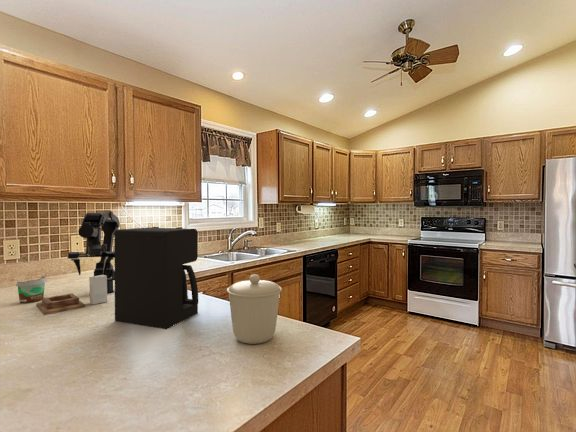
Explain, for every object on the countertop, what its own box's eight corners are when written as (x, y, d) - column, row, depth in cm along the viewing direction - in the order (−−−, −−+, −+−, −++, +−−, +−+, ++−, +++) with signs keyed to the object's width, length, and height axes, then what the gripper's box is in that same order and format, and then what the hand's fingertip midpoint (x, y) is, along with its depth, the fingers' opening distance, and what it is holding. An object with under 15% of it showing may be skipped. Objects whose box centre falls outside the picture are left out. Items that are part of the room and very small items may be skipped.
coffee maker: (207, 313, 127) (207, 228, 127) (175, 331, 109) (175, 231, 108) (152, 306, 137) (151, 226, 136) (114, 321, 118) (113, 229, 117)
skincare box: (104, 300, 146) (103, 274, 145) (107, 302, 143) (107, 275, 143) (89, 303, 141) (88, 276, 141) (92, 305, 138) (92, 277, 138)
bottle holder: (74, 298, 148) (74, 291, 148) (85, 306, 135) (85, 298, 135) (36, 305, 137) (36, 297, 137) (44, 314, 125) (44, 306, 125)
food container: (27, 305, 138) (27, 282, 137) (16, 304, 139) (15, 281, 139) (53, 297, 150) (53, 276, 150) (43, 296, 151) (42, 276, 151)
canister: (259, 355, 91) (259, 283, 91) (214, 341, 101) (214, 276, 100) (291, 334, 106) (292, 272, 106) (250, 324, 116) (250, 267, 116)
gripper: (70, 238, 130) (67, 276, 128) (120, 238, 142) (118, 273, 140) (68, 240, 139) (66, 275, 137) (115, 240, 150) (114, 273, 148)
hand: (92, 274), depth 140 cm, fingers open, 9 cm apart
